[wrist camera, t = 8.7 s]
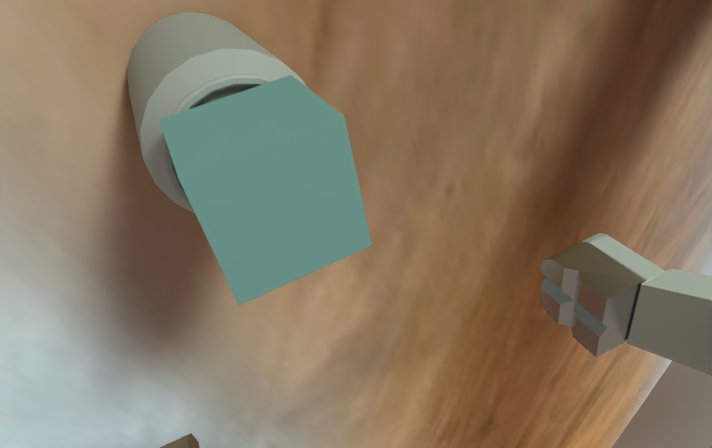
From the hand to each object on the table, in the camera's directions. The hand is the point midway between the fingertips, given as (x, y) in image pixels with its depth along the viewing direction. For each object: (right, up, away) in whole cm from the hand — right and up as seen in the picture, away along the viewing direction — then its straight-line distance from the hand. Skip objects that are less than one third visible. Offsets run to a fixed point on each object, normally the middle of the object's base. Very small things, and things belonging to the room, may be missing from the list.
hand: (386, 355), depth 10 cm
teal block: (-5, +5, +9) cm, 11 cm away
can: (-10, +11, +18) cm, 24 cm away
